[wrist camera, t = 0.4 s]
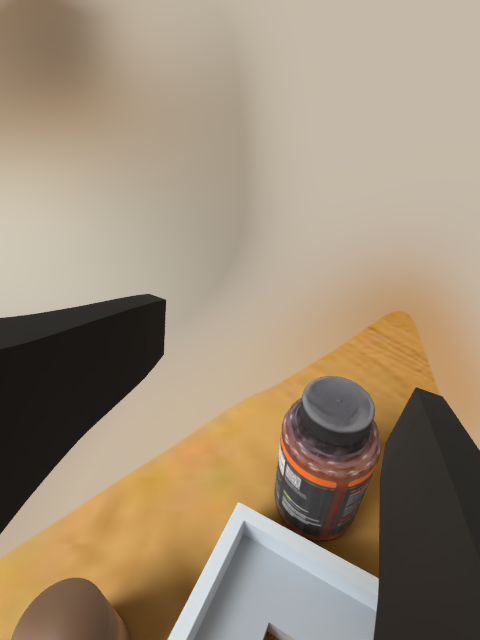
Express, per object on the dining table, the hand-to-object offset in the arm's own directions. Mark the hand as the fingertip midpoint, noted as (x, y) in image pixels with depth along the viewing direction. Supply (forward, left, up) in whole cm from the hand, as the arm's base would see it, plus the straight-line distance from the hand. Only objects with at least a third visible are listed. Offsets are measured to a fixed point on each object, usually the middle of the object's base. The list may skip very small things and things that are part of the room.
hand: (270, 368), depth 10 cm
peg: (-7, +6, -19) cm, 22 cm away
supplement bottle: (+7, -2, -20) cm, 21 cm away
